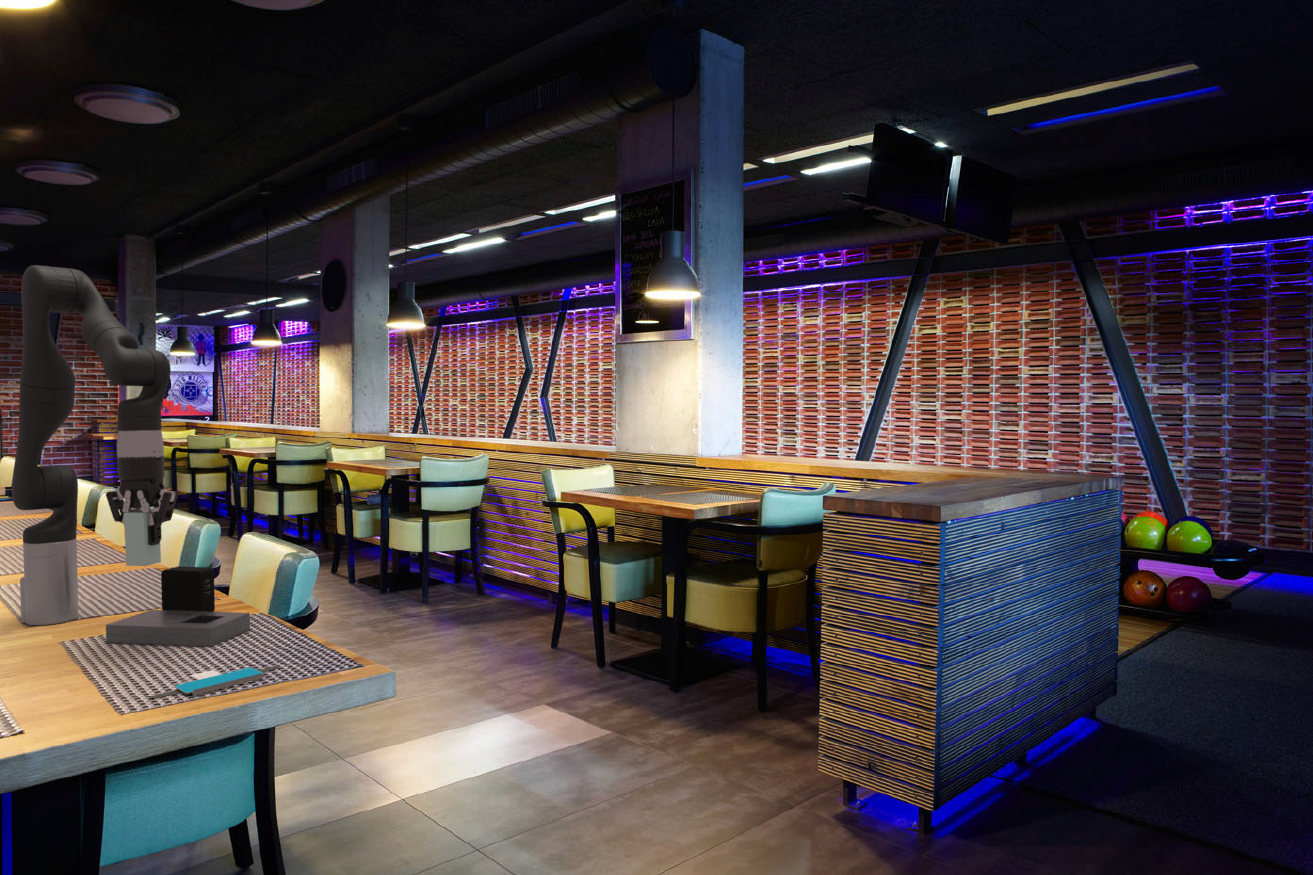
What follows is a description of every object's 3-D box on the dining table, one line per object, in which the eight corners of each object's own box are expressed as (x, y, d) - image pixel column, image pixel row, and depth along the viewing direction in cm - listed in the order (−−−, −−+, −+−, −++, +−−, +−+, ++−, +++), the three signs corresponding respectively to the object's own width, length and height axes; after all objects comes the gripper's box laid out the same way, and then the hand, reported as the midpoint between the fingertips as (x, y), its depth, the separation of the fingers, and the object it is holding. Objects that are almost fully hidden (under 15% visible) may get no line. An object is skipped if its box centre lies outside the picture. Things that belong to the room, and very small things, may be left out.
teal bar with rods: (261, 662, 148) (260, 653, 148) (292, 676, 140) (292, 667, 140) (135, 692, 133) (135, 682, 133) (163, 710, 125) (162, 699, 125)
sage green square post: (126, 565, 155) (124, 512, 154) (142, 561, 159) (140, 510, 158) (144, 566, 154) (143, 512, 154) (160, 562, 158) (159, 510, 158)
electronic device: (201, 616, 179) (200, 571, 178) (161, 614, 181) (160, 569, 180) (215, 612, 183) (214, 567, 183) (176, 610, 185) (175, 566, 185)
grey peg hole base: (106, 642, 159) (105, 624, 159) (152, 626, 171) (151, 609, 171) (210, 646, 156) (210, 628, 156) (250, 629, 168) (249, 612, 168)
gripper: (91, 455, 153) (94, 547, 154) (159, 455, 151) (162, 548, 152) (123, 453, 161) (125, 540, 161) (188, 453, 158) (191, 541, 159)
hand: (143, 544), depth 156 cm, fingers closed on sage green square post, 4 cm apart
